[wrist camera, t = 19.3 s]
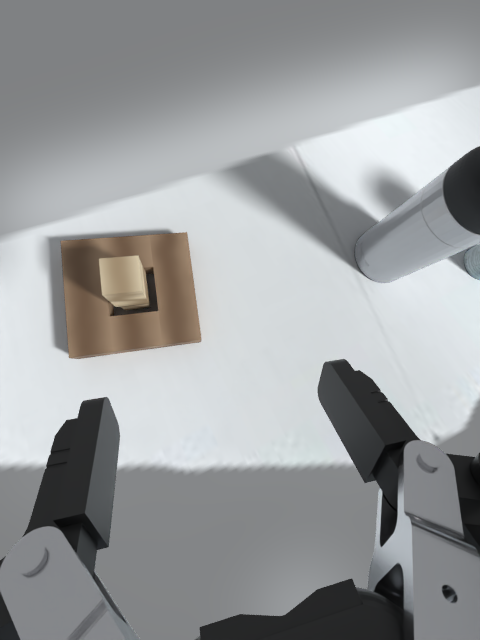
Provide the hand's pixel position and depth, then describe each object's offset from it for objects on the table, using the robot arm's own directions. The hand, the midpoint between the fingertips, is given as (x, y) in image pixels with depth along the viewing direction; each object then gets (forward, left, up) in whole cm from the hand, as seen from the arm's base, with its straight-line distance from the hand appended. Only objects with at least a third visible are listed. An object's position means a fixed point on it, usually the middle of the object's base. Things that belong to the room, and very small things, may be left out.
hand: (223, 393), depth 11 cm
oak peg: (+7, -12, -31) cm, 34 cm away
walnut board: (+7, -12, -31) cm, 34 cm away
